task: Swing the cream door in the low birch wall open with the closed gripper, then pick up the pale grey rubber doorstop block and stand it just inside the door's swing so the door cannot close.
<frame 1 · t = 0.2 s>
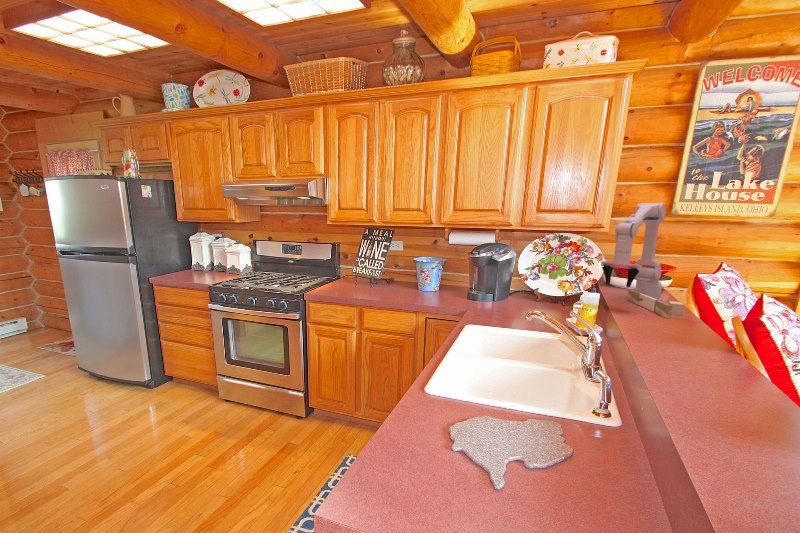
hand: (617, 285, 144), 10 cm above the table, tool pointing down, fingers open, 7 cm apart
door frame: (647, 308, 148), on the table
door: (647, 302, 147), point 3 cm above the table, hinge at 0.0°
doorstop block: (674, 313, 141), on the table
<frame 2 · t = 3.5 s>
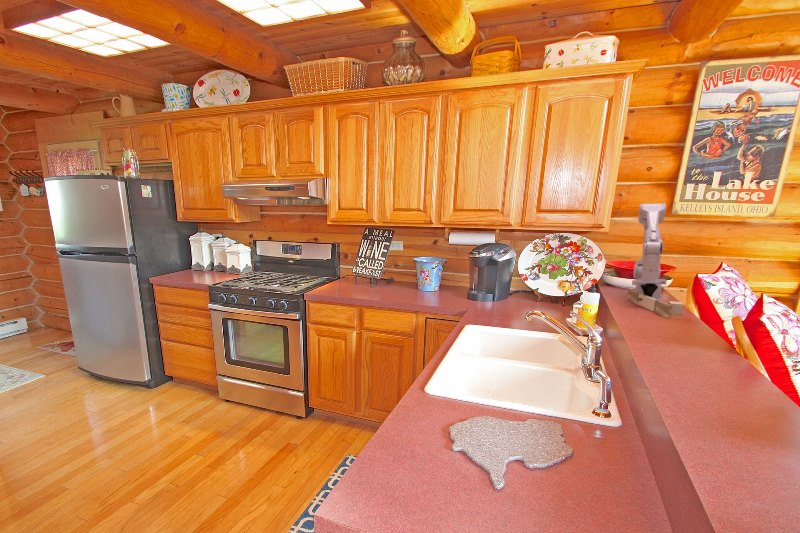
hand: (647, 301, 150), 2 cm above the table, tool pointing down, fingers closed, pressing on door
door: (646, 302, 147), point 3 cm above the table, hinge at 1.1°, touching gripper
everything else where it was.
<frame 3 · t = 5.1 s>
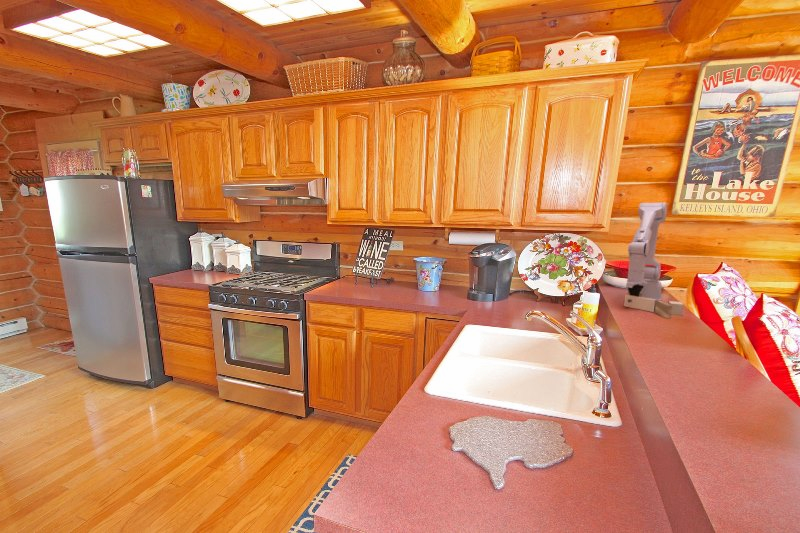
hand: (633, 301, 150), 2 cm above the table, tool pointing down, fingers closed, pressing on door
door: (640, 303, 146), point 3 cm above the table, hinge at 40.2°, touching gripper
everything else where it was.
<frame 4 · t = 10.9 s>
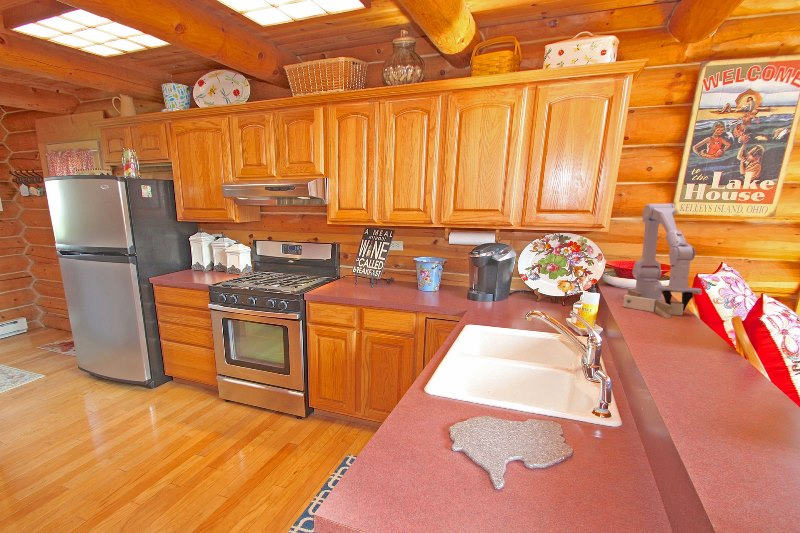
hand: (675, 310, 140), 1 cm above the table, tool pointing down, fingers closed on doorstop block, 4 cm apart
door: (640, 303, 146), point 3 cm above the table, hinge at 46.0°
doorstop block: (674, 313, 141), on the table, touching gripper
everything else where it was.
when the fingers open (3 cm above the table, at t = 16.8 s): doorstop block drops 1 cm, on the table.
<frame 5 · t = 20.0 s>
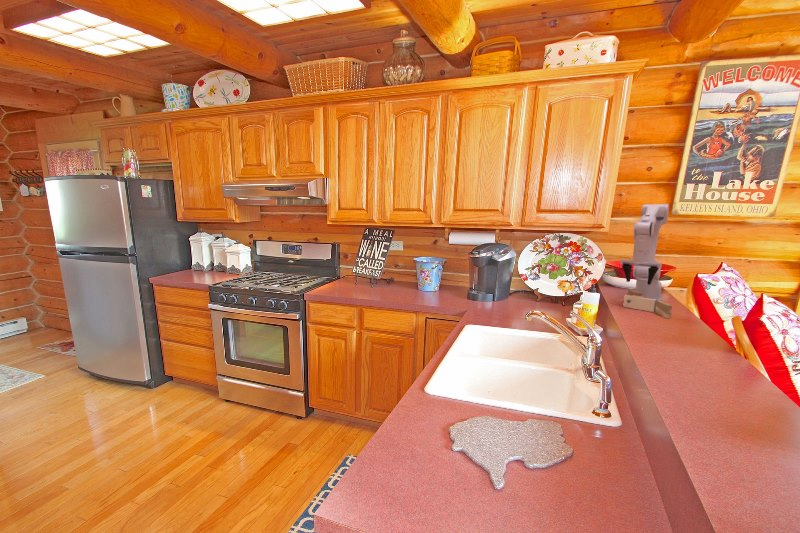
hand: (638, 282, 149), 10 cm above the table, tool pointing down, fingers open, 7 cm apart
doorstop block: (635, 306, 151), on the table
everything else where it was.
at the end: door at +46° (first picture: +0°); doorstop block 0.1 cm from the target spot, on the table; doorstop block tilted 0° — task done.
